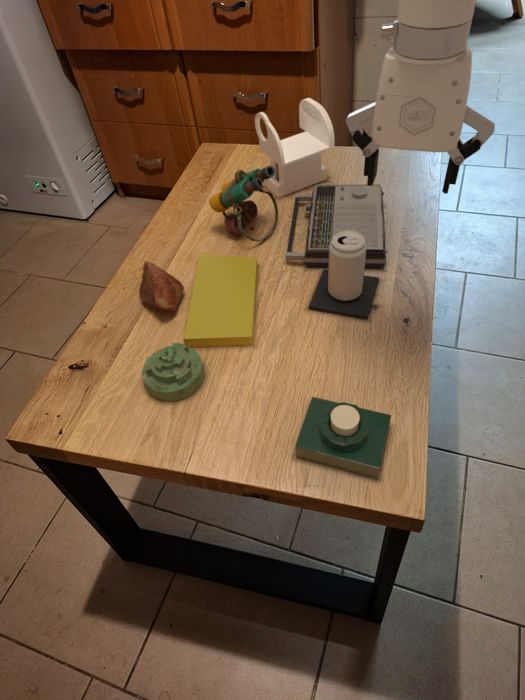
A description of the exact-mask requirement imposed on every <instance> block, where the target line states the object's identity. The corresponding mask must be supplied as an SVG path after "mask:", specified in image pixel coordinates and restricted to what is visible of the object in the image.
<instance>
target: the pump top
mask: <svg viewBox="0 0 525 700" xmlns="http://www.w3.org/2000/svg"><path fill="white" fill-rule="evenodd" d="M359 421H360V416H359V413H358V411H357V410H356V409H355V408H353V407H351V406H348V405H340V406H337V407H336V408H334V409H333V411H332V412H331V417H330V426H331V429H332V430H333V432H334V433H336V434H337V435H339V436H343V437H348V436H351V435H353V434H355V433H356V432H357V430H358V428H359Z"/></svg>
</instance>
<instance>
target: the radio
mask: <svg viewBox="0 0 525 700" xmlns="http://www.w3.org/2000/svg"><path fill="white" fill-rule="evenodd" d="M384 195H385V191H383V188H382V186H381V184H380V183H379V184H376V183H373V185H371V186H368V185H367V183H366V184H314V187H313V189H312V193H295V195H294V205H293V210H292V217H291V224H290V230H289V235H288V242H287V247H286V252H285V261H293V262H294V261H298V262H300V261H301V262H302V261H303V262H304V265H305V267H306V269H329V245H330V243H331V241H332V238H333V236H334V235H335V234H337V233H339V232H341V231H355V232H358V233H360V234H361V235H363V237H364V238H365V243H366V245H367V249H366V258H365V268H364V270H384V267H385V266H386V263H387V255H386V254H388V253H389V251H388V249H386V233H385V213H384ZM300 202H310V203H307V204H305V209H306V210H305V211H304V216H308V217H309V218H308V224H307V233H306V242H305V249H304V251H293V250H292V249H293V244H294V243H293V242H294V237H295V232H296V231H295V230H296V224H297V215H298V210H299V203H300Z"/></svg>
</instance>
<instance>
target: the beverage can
mask: <svg viewBox="0 0 525 700" xmlns="http://www.w3.org/2000/svg"><path fill="white" fill-rule="evenodd" d="M366 249H367V245H366V243H365V238H364V237H363V235H361V234H360V233H358V232H355V231H341V232H339V233H337V234H335V235H334V236H333V238H332V241H331V243H330V245H329V268H328V270H329V274H328V291H329V293H330V295H331V296H332V297H334V298H336V299H338V300H343V301H348V300H353V299H355V298H357V297H358V296H359V295H360V294H361V293H362V288H363V278H364V275H365V269H364V268H365V258H366Z"/></svg>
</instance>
